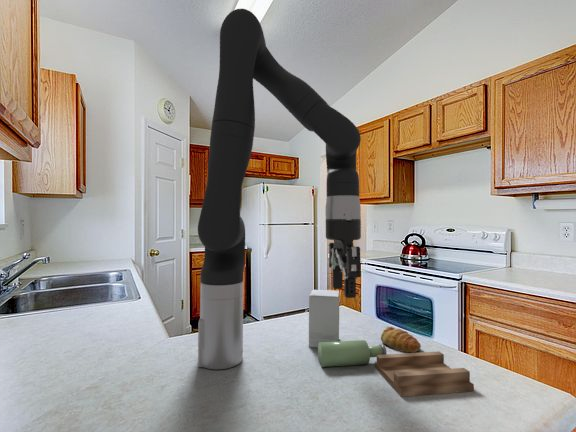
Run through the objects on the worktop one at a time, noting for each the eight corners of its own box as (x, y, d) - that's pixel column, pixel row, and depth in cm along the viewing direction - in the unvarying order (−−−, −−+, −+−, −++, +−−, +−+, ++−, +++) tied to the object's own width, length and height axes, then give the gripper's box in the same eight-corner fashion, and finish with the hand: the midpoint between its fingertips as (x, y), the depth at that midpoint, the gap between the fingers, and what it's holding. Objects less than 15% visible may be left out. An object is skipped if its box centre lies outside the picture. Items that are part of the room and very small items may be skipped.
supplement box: (338, 349, 74) (338, 296, 74) (307, 347, 75) (308, 295, 76) (339, 338, 81) (339, 290, 81) (311, 336, 82) (311, 288, 83)
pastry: (427, 350, 74) (427, 334, 74) (409, 357, 70) (409, 340, 70) (395, 338, 82) (394, 323, 82) (377, 343, 78) (377, 328, 78)
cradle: (400, 396, 54) (400, 379, 54) (374, 367, 65) (374, 353, 65) (473, 391, 56) (473, 374, 56) (436, 363, 67) (436, 349, 67)
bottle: (323, 371, 63) (323, 347, 63) (317, 360, 68) (317, 338, 68) (388, 367, 65) (388, 344, 65) (379, 357, 70) (379, 335, 70)
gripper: (318, 218, 74) (318, 286, 73) (335, 217, 60) (336, 301, 59) (348, 218, 75) (349, 285, 74) (372, 217, 61) (373, 300, 60)
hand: (343, 292), depth 67 cm, fingers open, 8 cm apart
